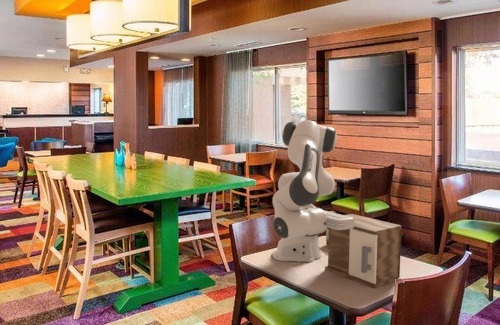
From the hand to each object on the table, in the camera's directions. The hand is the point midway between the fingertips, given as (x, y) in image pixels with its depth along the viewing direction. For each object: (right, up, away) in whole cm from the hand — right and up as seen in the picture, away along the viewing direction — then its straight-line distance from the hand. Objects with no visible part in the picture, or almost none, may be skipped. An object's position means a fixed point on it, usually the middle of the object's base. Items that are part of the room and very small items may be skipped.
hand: (343, 215), depth 172 cm
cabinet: (+13, -27, +25) cm, 39 cm away
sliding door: (+9, -27, +14) cm, 31 cm away
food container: (+9, -23, +63) cm, 68 cm away
